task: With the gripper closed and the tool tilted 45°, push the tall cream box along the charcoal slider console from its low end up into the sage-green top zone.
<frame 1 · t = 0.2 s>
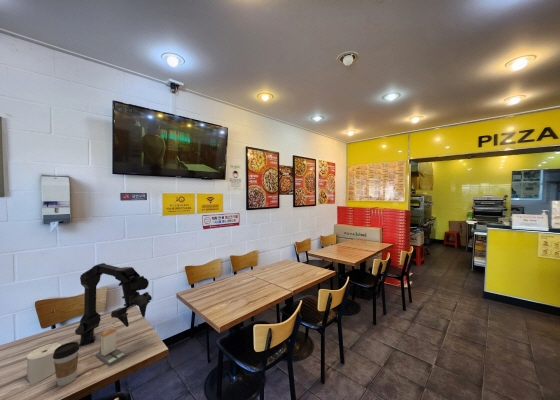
hand: (136, 321, 114), 15 cm above the table, tool pointing down, fingers open, 9 cm apart
cream box: (108, 341, 110), point 7 cm above the table, slide at 0.0 cm
toilet tissue: (44, 373, 100), on the table
coffee cup: (66, 380, 95), on the table
console: (110, 357, 109), on the table
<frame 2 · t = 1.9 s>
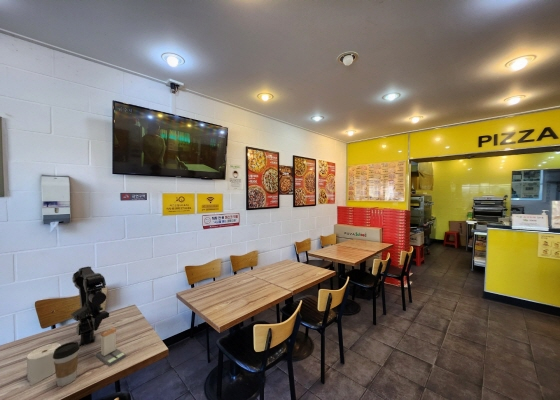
hand: (94, 329, 113), 12 cm above the table, tool pointing down, fingers open, 3 cm apart
nothing on the table moved.
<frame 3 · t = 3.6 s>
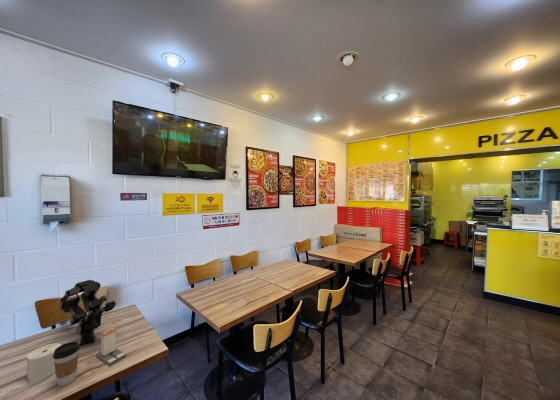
hand: (99, 326, 115), 12 cm above the table, tool tilted 45°, fingers closed
nothing on the table moved.
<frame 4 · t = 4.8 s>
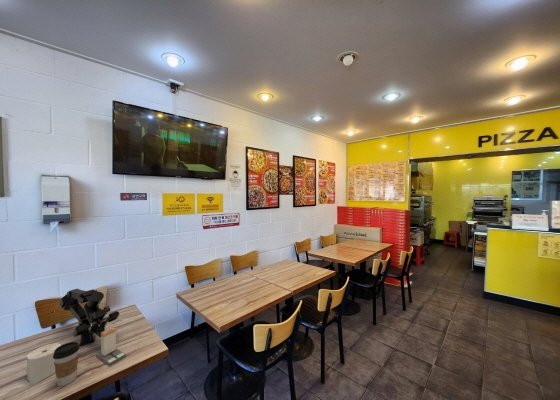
hand: (103, 337, 113), 8 cm above the table, tool tilted 45°, fingers closed
nothing on the table moved.
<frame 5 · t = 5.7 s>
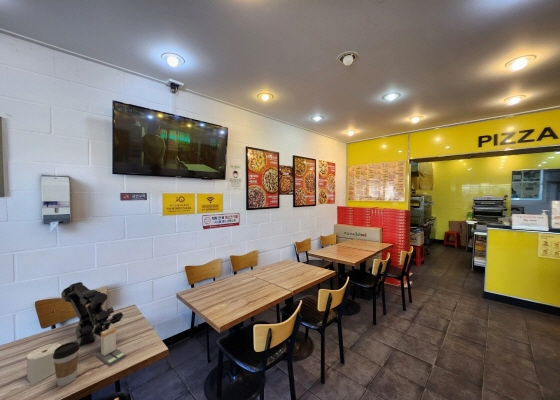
hand: (106, 339, 111), 8 cm above the table, tool tilted 45°, fingers closed, pressing on cream box
cream box: (108, 341, 110), point 7 cm above the table, slide at 0.0 cm, touching gripper
everything else where it was.
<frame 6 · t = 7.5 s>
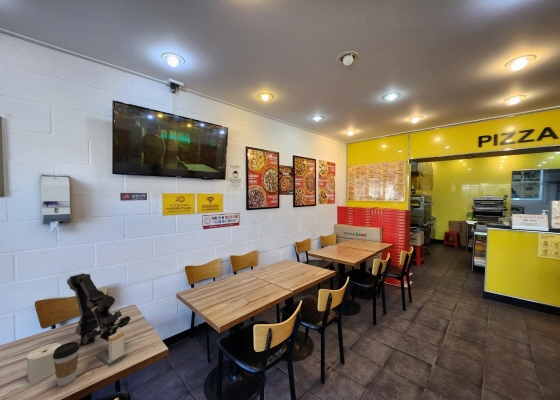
hand: (114, 344, 107), 8 cm above the table, tool tilted 45°, fingers closed, pressing on cream box
cream box: (116, 345, 107), point 7 cm above the table, slide at 7.7 cm, touching gripper
everything else where it was.
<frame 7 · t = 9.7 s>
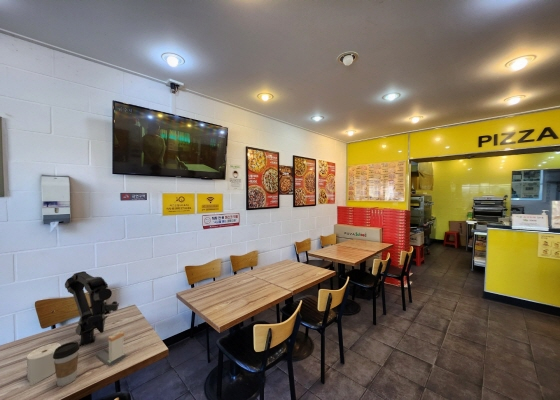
hand: (102, 332, 113), 10 cm above the table, tool tilted 20°, fingers closed
cream box: (116, 345, 107), point 7 cm above the table, slide at 7.7 cm
everything else where it was.
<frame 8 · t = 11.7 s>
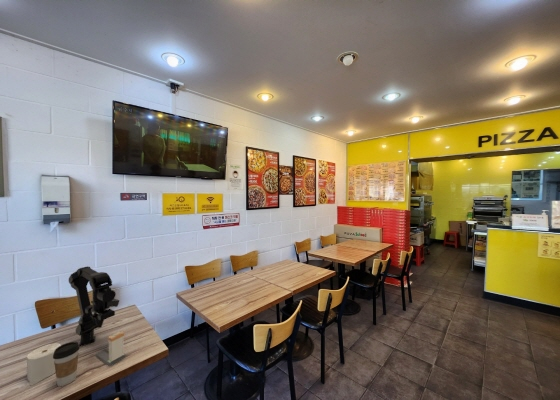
hand: (100, 327, 115), 12 cm above the table, tool pointing down, fingers closed
nothing on the table moved.
at the end: cream box slide at 7.7 cm; coffee cup moved 0.2 cm from its start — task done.
